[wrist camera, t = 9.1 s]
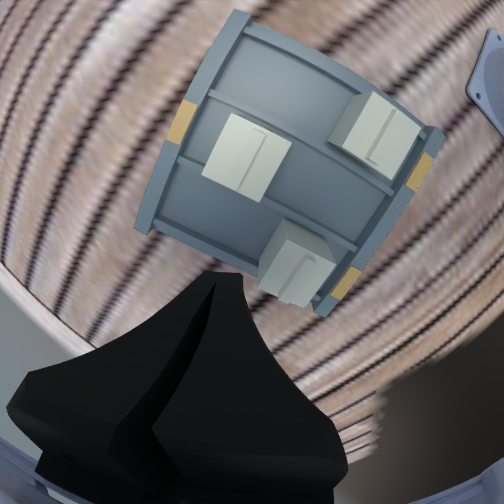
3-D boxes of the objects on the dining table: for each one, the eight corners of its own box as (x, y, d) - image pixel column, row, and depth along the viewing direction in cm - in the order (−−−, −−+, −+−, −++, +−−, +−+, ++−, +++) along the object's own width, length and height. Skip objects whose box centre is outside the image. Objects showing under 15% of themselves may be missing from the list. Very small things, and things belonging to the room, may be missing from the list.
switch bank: (428, 133, 15) (447, 137, 13) (321, 299, 21) (325, 319, 19) (238, 20, 13) (233, 7, 11) (146, 216, 19) (131, 229, 17)
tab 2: (325, 237, 18) (338, 270, 14) (299, 276, 19) (305, 315, 15) (283, 215, 17) (287, 244, 13) (259, 257, 18) (256, 293, 15)
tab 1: (287, 138, 15) (293, 143, 11) (261, 185, 16) (258, 206, 13) (239, 114, 15) (229, 112, 11) (214, 163, 16) (198, 177, 12)
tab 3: (393, 124, 14) (427, 128, 10) (368, 167, 15) (396, 183, 12) (352, 96, 14) (377, 90, 10) (326, 141, 15) (345, 148, 11)
